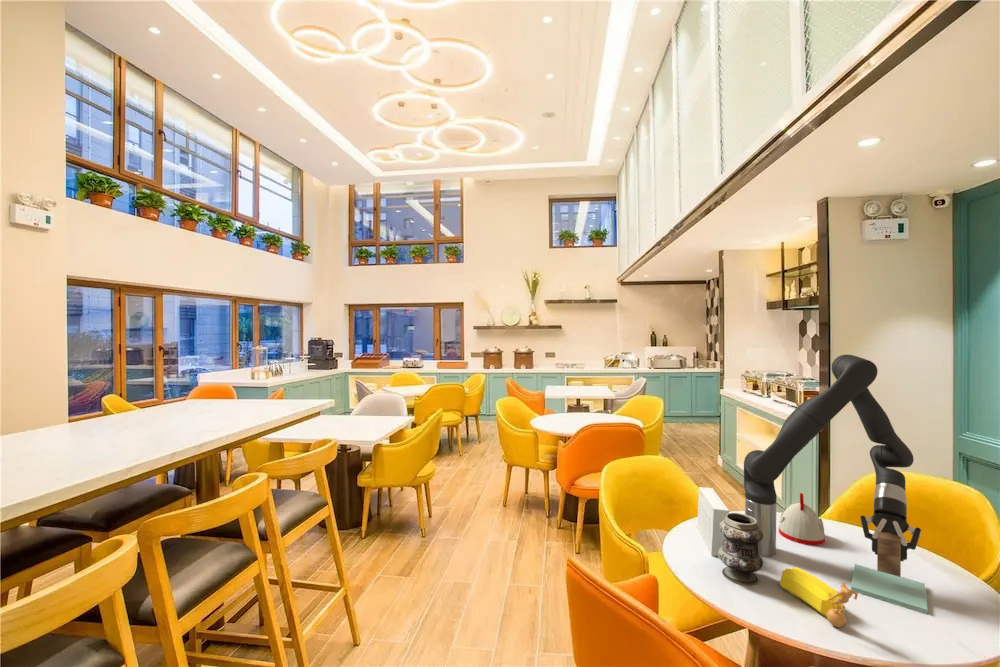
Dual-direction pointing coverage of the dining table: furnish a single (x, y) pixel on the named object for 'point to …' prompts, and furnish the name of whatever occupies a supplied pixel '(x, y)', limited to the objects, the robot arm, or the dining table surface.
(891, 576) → the teal board
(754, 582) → the apothecary jar
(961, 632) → the dining table surface
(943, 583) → the dining table surface
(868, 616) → the dining table surface
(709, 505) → the skincare box
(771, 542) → the robot arm
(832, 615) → the figurine
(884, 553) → the walnut block
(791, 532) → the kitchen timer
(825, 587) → the yellow faceted bar
